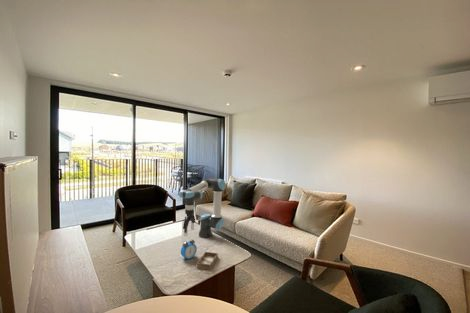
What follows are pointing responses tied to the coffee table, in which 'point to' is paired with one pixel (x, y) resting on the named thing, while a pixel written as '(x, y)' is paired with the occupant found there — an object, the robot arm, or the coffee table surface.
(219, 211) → the robot arm
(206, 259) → the open rectangular wooden box
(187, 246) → the alarm clock
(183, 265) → the coffee table surface
